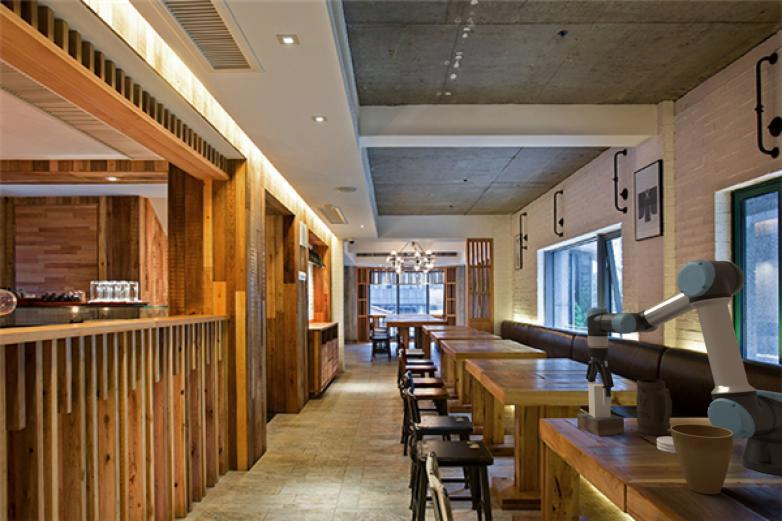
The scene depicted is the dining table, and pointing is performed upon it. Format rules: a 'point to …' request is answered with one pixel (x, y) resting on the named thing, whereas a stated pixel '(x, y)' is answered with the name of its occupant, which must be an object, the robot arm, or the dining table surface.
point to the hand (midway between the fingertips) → (599, 401)
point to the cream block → (597, 402)
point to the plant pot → (703, 455)
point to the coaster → (666, 444)
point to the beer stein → (653, 407)
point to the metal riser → (600, 424)
